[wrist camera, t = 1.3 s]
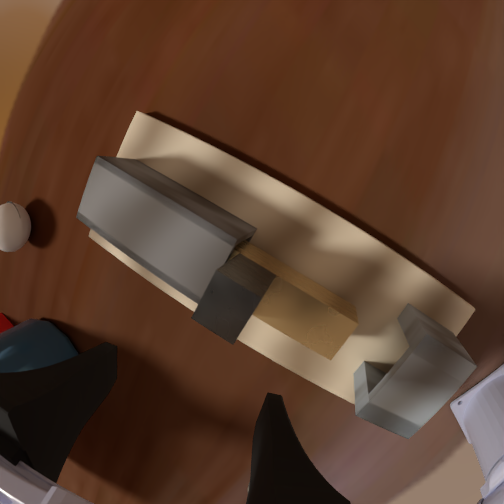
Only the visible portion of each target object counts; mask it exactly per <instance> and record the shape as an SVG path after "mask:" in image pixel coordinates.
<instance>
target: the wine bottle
mask: <svg viewBox="0 0 504 504" xmlns="http://www.w3.org/2000/svg"><path fill="white" fill-rule="evenodd" d="M77 355H79V353H78V352H77V350H76V349H75V347H74V346H73V344H72V343H71V341H70V339H69V338H68V337H67V336H66V335H65V334H64V333H63V332H62V331H60V330H59V329H58V328H57V327H56V326H55V325H54V324H53V323H52V322H49V321H44V320H39V319H29V320H27V321H25V322H22V323H20V324H18V325H16V326H14V327H12V328H10V329H8V330H6V331H4V332H2V333H0V373H9V372H21V371H27V370H33V369H38V368H42V367H46V366H50V365H53V364H56V363H59V362H62V361H64V360H67V359H69V358H72V357H74V356H77Z"/></svg>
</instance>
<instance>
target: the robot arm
mask: <svg viewBox="0 0 504 504" xmlns="http://www.w3.org/2000/svg"><path fill="white" fill-rule="evenodd" d="M116 379H117V346H115V345H112V344H110V343H107V342H105V343H103V344H100V345H98V346H96V347H94V348H92V349H90V350H88V351H86V352H83V353H81V354H79V355H77V356H74V357H72V358H69V359H67V360H64V361H62V362H59V363H56V364H53V365H50V366H46V367H42V368H38V369H33V370H27V371H21V372H9V373H0V504H94V503H92V502H90V501H88V500H86V499H84V498H82V497H80V496H78V495H76V494H74V493H72V492H70V491H68V490H67V489H65V488H63V487H61V486H60V485H58V484H56V482H57V480H58V477H59V475H60V472H61V470H62V467H63V465H64V463H65V461H66V459H67V456H68V454H69V452H70V450H71V448H72V446H73V444H74V442H75V441H76V439H77V437H78V435H79V434H80V432H81V430H82V428H83V427H84V425H85V424H86V422H87V421H88V420H89V419H90V417H91V416H92V415H93V413H94V412H95V411H96V409H97V408H98V407H99V405H100V404H101V403H102V402H103V400H104V399H105V398H106V396H107V395H108V393H109V392H110V390H111V388H112V386H113V385H114V383H115V381H116ZM459 401H461V402H459ZM458 402H459V403H458ZM450 407H451V409H452V411H453V413H454V415H455V417H456V419H457V421H458V423H459V424H460V426H461V428H462V430H463V432H464V434H465V436H466V438H467V440H468V442H469V444H472V445H473V448H474V450H475V453H476V456H477V458H478V461H479V464H480V466H481V469H482V472H483V475H484V478H485V481H486V483H485V484H484V485H483V486H482V487H481V488H480V490H481V494H482V497H483V498H482V499H481V500H479V502H478V503H477V504H504V364H503V365H502V366H500V367H499V368H498V369H497V370H495V371H494V372H493V373H491V374H490V375H489V376H488V377H486V378H485V379H484V380H482V381H481V382H480V383H478V384H477V385H475V386H474V387H473V388H471V389H470V390H468V391H467V392H466V393H464V394H463V395H461V396H460V397H458V398H457V399H455V400H454V401H452V402H451V404H450ZM246 504H351V503H350V501H349V500H347V499H346V498H345V497H344V496H342V495H341V494H340V493H339V492H338V491H336V490H335V489H334V488H333V487H332V486H331V485H330V484H329V483H328V482H327V481H326V480H325V478H324V477H323V476H322V475H321V474H320V473H319V471H318V470H317V469H316V468H315V466H314V465H313V463H312V462H311V461H310V459H309V458H308V456H307V454H306V453H305V451H304V449H303V448H302V446H301V444H300V442H299V440H298V438H297V436H296V434H295V432H294V429H293V427H292V425H291V422H290V420H289V417H288V414H287V411H286V408H285V405H284V402H283V398H282V396H281V395H277V394H272V393H267V396H266V398H265V401H264V403H263V406H262V409H261V411H260V414H259V416H258V419H257V421H256V426H255V431H254V436H253V445H252V461H251V477H250V486H249V491H248V497H247V502H246Z"/></svg>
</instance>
